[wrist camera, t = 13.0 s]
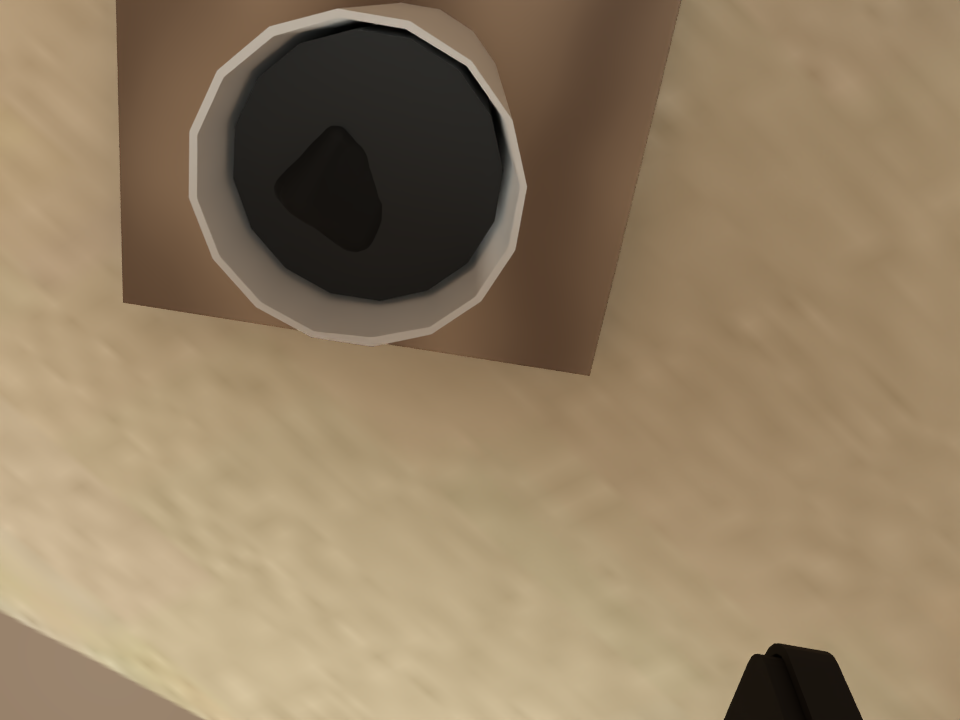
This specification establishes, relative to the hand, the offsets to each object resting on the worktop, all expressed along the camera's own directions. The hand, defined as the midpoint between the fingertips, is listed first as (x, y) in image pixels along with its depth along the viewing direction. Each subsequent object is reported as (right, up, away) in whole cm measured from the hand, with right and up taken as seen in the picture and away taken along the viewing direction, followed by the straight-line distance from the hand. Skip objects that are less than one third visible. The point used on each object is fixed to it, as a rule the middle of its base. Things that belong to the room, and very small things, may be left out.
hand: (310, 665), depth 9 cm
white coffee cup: (0, +11, +17) cm, 20 cm away
